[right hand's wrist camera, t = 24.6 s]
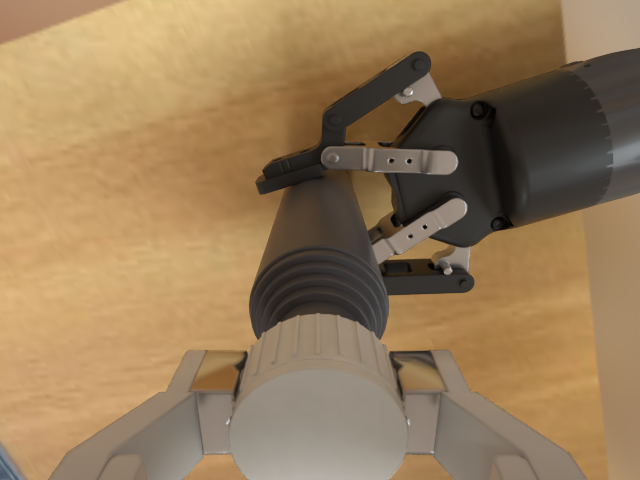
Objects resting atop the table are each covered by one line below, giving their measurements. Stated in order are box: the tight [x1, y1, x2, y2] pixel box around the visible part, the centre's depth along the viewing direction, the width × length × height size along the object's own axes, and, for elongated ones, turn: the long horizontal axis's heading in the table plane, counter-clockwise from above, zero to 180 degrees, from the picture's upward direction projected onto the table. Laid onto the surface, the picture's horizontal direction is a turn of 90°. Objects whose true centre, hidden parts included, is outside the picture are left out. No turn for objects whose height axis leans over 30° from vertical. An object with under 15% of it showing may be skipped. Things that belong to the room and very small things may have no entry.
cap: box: [228, 313, 409, 480], centre depth 10 cm, size 4×4×2 cm
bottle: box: [249, 169, 389, 340], centre depth 19 cm, size 5×5×22 cm
